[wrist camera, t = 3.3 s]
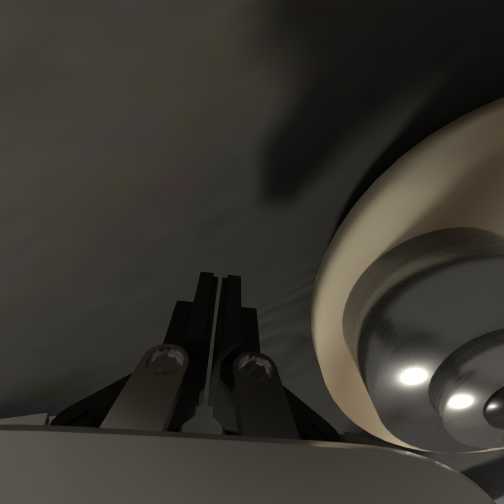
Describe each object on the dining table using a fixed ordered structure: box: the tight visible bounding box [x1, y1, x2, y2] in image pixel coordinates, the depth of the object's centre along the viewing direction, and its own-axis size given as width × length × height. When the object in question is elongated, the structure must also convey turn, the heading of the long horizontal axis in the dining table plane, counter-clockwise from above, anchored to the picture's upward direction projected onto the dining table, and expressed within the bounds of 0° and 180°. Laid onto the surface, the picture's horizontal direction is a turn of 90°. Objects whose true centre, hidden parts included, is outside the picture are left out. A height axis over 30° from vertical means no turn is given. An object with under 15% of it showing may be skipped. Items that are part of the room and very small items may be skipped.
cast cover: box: [342, 227, 504, 453], centre depth 12 cm, size 9×9×5 cm
